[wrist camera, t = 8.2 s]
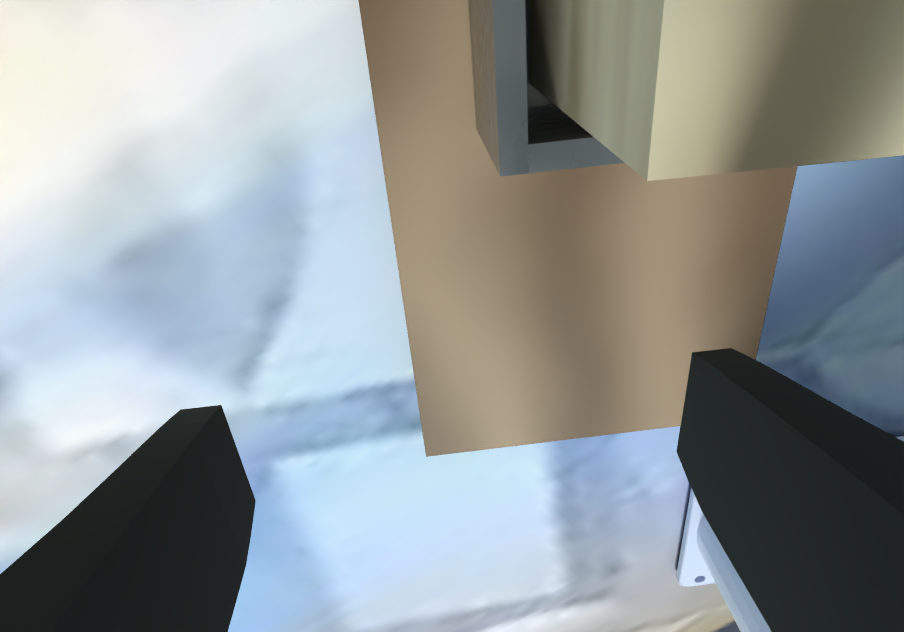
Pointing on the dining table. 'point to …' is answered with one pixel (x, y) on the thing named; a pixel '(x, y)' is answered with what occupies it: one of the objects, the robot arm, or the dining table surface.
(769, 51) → the beige wooden block
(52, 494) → the dining table surface
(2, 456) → the dining table surface
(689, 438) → the robot arm
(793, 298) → the dining table surface
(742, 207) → the plank
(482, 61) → the grey open box
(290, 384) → the dining table surface
